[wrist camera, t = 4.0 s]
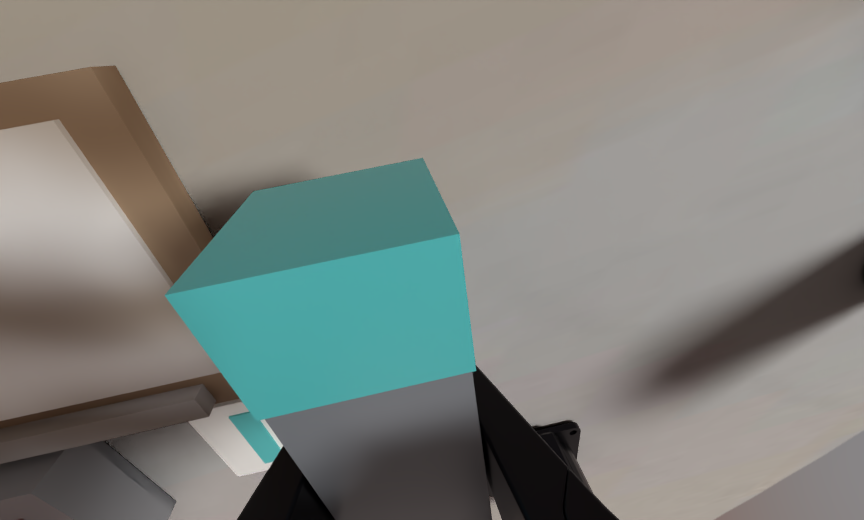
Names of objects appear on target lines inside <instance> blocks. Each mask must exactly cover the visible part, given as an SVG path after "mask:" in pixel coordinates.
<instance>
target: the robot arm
mask: <svg viewBox="0 0 864 520" xmlns="http://www.w3.org/2000/svg"><path fill="white" fill-rule="evenodd" d="M472 373H473V380H474V388H475V395H476V403H477V410H478V418H479V425H480V433H481V440H482V448H483V456H484V463H485V471H486V478H487V486H488V493H489V496H492V497H494V499H495V501H496V504H497V507H498V510H499V512H500V515H501V518H502V520H619V519H618V518H617V517H616V516H615V515H614V514H613V513H612V512H611V511H609V510H608V509H607V508H606V507H605V506H604V505H603V504H602V503H601V501H600V500H599V499H598V498H597V497H596V496H595V495H594V494H593V492H592V490H591V488H590V486H589V484H588V482H587V480H586V478H585V476H584V474H583V472H582V470H581V468H580V466H579V464H578V462H577V453H578V446H579V439H580V428H579V426H578V424H577V423H575V422H571V423H567V424H562V425H558V426H554V427H550V428H546V429H542V430H537V431H535V430H534V429H533V428H532V426H531V425H530V424H529V423H528V422H527V421H526V420H525V419H524V418H523V417H522V415H521V414H520V413H519V412H518V411H517V410H516V409H515V408H514V407H513V406H512V404H511V403H510V402H509V401H508V400H507V399H506V398H505V397H504V396H503V394H502V393H501V392H500V391H499V390H498V389H497V388H496V387H495V386H494V385H493V383H492V382H491V381H490V380H489V379H488V378H487V377H486V376H485V375H484V374H483V372H482V371H481V370H480V369H479V368H478V367H477V366H476V371H474V372H472ZM237 520H335V518H334V517H333V516H332V514H331V513H330V511H329V510H328V508H327V507H326V506H325V504H324V503H323V501H322V500H321V499H320V497H319V496H318V494H317V493H316V491H315V490H314V489H313V487H312V486H311V484H310V483H309V482H308V480H307V479H306V477H305V476H304V474H303V473H302V472H301V470H300V469H299V467H298V466H297V464H296V463H295V462H294V460H293V459H292V457H291V456H290V455H289V453H288V452H287V450H286V449H285V447H284V446H283V447H282V448H281V450H280V452H279V453H278V455H277V456H276V458H275V460H274V461H273V463H272V464H271V466H270V468H269V469H268V471H267V472H266V474H265V476H264V477H263V479H262V480H261V482H260V484H259V485H258V487H257V488H256V490H255V492H254V493H253V495H252V496H251V498H250V500H249V501H248V503H247V504H246V506H245V508H244V509H243V511H242V512H241V514H240V516H239V517H238V519H237Z"/></svg>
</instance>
